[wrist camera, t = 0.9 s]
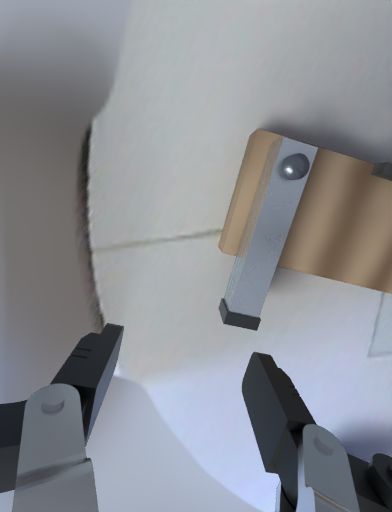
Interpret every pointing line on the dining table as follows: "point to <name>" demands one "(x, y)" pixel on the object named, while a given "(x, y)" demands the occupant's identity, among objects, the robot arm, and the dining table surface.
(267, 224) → the hinged leg
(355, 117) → the dining table surface
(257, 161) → the wooden board with bar
